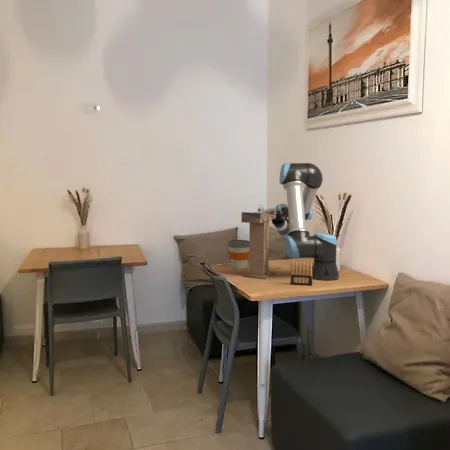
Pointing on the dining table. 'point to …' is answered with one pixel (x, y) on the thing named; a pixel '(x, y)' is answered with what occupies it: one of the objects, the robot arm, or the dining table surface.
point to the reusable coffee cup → (239, 253)
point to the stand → (258, 244)
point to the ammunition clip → (297, 276)
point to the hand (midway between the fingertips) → (269, 206)
